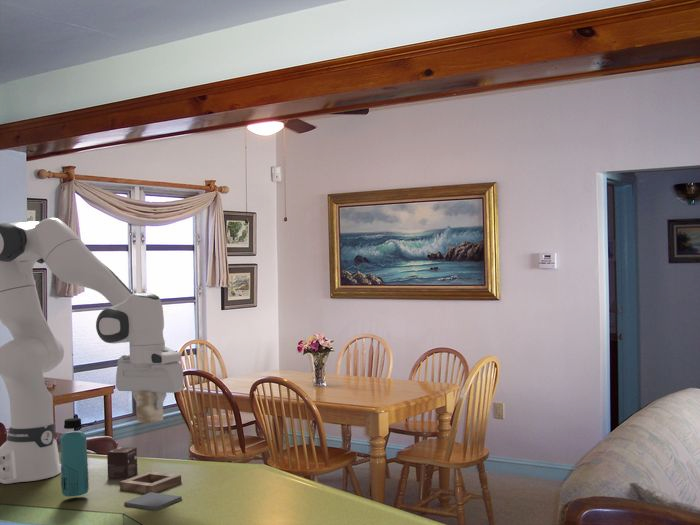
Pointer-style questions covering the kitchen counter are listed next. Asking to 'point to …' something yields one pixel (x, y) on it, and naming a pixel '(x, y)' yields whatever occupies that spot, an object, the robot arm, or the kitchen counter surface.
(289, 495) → the kitchen counter surface
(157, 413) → the peg block
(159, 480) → the pocket holder
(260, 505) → the kitchen counter surface
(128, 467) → the box
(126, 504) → the mat
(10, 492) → the kitchen counter surface
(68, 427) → the beverage bottle
